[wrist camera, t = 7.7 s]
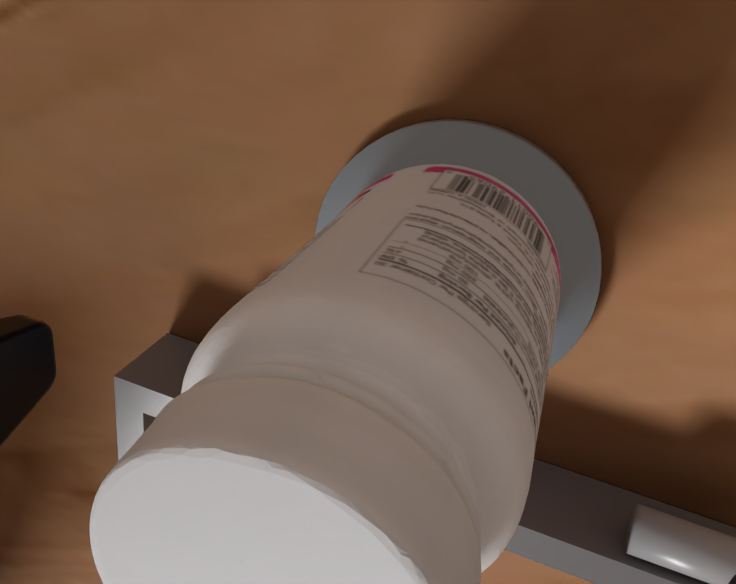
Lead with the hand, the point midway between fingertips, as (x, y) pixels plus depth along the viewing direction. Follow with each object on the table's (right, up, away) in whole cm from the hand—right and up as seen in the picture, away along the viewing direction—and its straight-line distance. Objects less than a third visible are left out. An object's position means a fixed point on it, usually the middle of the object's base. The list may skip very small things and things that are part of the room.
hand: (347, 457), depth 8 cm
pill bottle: (+2, +3, +6) cm, 6 cm away
